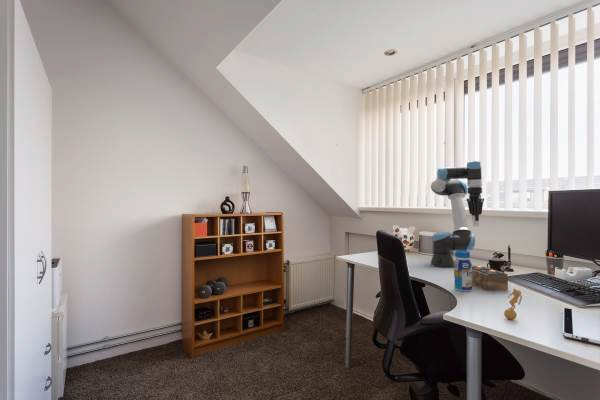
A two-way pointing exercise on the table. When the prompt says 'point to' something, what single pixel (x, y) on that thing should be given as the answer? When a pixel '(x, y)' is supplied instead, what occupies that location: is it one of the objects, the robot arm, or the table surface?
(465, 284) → the beverage bottle
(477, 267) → the back peg
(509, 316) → the figurine
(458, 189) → the robot arm
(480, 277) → the walnut block
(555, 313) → the table surface
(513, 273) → the table surface
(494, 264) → the coffee mug
